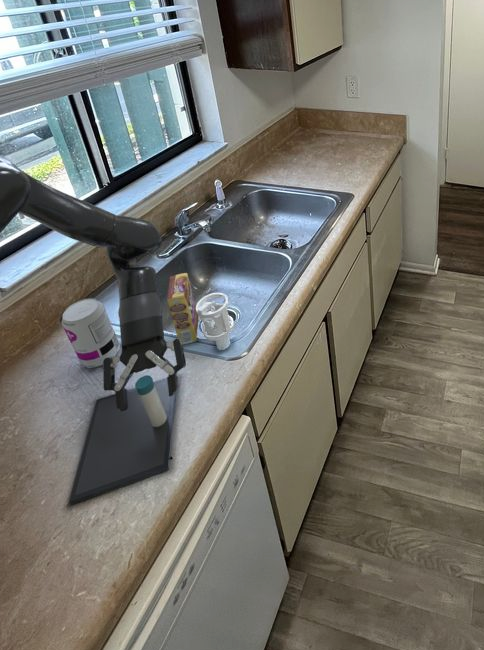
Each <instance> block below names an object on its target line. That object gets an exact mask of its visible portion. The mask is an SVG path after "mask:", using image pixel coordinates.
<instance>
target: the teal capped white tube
mask: <svg viewBox="0 0 484 650" xmlns="http://www.w3.org/2000/svg"><path fill="white" fill-rule="evenodd" d="M154 382H155V381H154V379H153V377H152V376H151V375H148V374H147V375H143V376H141V377H140V378H138V379H137V380H136V381H135V383H134V388H136V389H137V392H138V394H139V395H140V398H141V400H142V403H143V405H144V407H145V410H146V412H147V414H148V417H149V419H150V421H151V424H152V426H154V427H159V426H161V425H162V424H164V423H165V421H166V419H167V416H166V413H165V411H164V408H163V406H162V403H161V401H160V398H159V396H158V393H157V391H156V388H155V386H154Z"/></svg>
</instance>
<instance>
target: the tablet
mask: <svg viewBox="0 0 484 650" xmlns="http://www.w3.org/2000/svg"><path fill="white" fill-rule="evenodd" d="M178 379H179V378H178V376H177V382H178ZM153 382H154V386H155V388H156V391H157V393H158V396H159V398H160V401H161V403H162V406H163V408H164V411H165V413H166V416H167V419H166V421H165V423H164V424H162V425H161V426H159V427H154V426H152V424H151V421H150V419H149V417H148V414H147V412H146V410H145V407H144V405H143V403H142V400H141V398H140V395H139V394H138V392H137V389H136V387H133V388H130V389H127V401H128V409H127V410H125V411H120V409H117V407H116V394H115V393H114V394H111V395H107V396H103V397H100V398H97V399H96V400H95V404H94V406H93V407H94V408H93V411H92V415H91V419H90V422H89V426H88V430H87V433H86V437H85V440H84V444H83V449H82V451H81V455H80V459H79V463H78V467H77V470H76V473H75V478H74V481H73V486H72V489H71V493H70V497H69V501H68V504H69V505H70V506H72V505H75V504H79V503H81V502H84V501H87V500H90V499H92V498H95V497H98V496H100V495H104V494H106V493H109V492H112V491H114V490H117V489H119V488H123V487H125V486H128V485H131V484H133V483H137V482H140V481H143V480H145V479H148V478H151V477H153V476H156V475H159V474H161V473H164V472H167V471H170V467H171V466H170V465H171V456H172V455H171V454H172V444H173V434H174V423H175V413H176V412H175V411H176V402H177V392H178V390H177V391H175V395H173V396H170V397H169V391H168V381H167V378H163V379H160V380H157V381H153Z"/></svg>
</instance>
